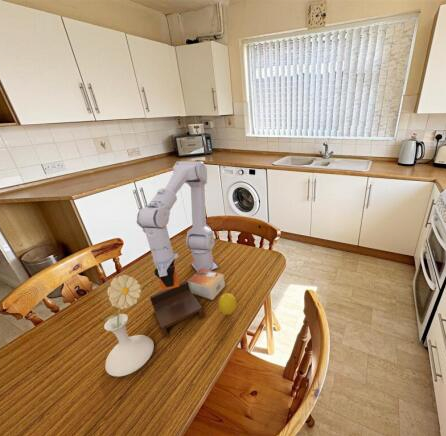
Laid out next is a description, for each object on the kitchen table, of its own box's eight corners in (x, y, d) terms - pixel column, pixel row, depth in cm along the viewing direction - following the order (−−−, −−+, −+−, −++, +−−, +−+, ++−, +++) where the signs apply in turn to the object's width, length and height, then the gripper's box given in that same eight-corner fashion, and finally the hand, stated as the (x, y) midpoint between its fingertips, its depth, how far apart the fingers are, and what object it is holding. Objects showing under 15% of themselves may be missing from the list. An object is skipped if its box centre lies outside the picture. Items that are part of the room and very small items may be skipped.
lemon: (240, 309, 78) (238, 291, 75) (231, 322, 74) (228, 303, 71) (227, 305, 81) (224, 286, 77) (216, 317, 76) (213, 298, 73)
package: (162, 291, 75) (158, 277, 72) (162, 282, 78) (158, 269, 76) (179, 286, 76) (175, 272, 74) (178, 278, 80) (175, 265, 78)
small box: (210, 288, 80) (186, 280, 84) (212, 300, 83) (189, 292, 87) (223, 274, 87) (200, 267, 91) (225, 285, 90) (203, 279, 93)
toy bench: (155, 312, 79) (149, 296, 76) (190, 296, 85) (186, 280, 82) (164, 337, 70) (159, 320, 67) (203, 316, 76) (200, 300, 73)
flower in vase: (121, 389, 57) (83, 313, 46) (99, 365, 63) (59, 292, 52) (169, 347, 67) (146, 275, 56) (145, 329, 73) (120, 262, 62)
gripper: (173, 254, 66) (183, 292, 72) (175, 232, 79) (183, 265, 84) (145, 260, 64) (157, 298, 70) (152, 236, 76) (161, 270, 82)
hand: (170, 281), depth 77 cm, fingers closed on package, 4 cm apart
